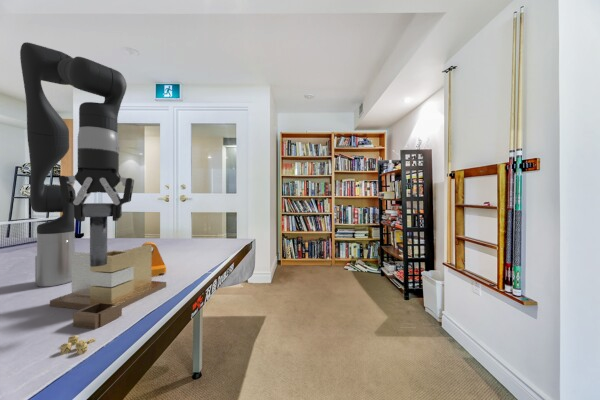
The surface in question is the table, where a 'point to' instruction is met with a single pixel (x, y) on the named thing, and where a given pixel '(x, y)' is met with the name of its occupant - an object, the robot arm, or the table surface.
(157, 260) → the bracket
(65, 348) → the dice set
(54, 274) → the robot arm
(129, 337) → the table surface
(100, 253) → the hinge pin
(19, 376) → the table surface
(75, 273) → the hinge leaf
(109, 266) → the hinge base
